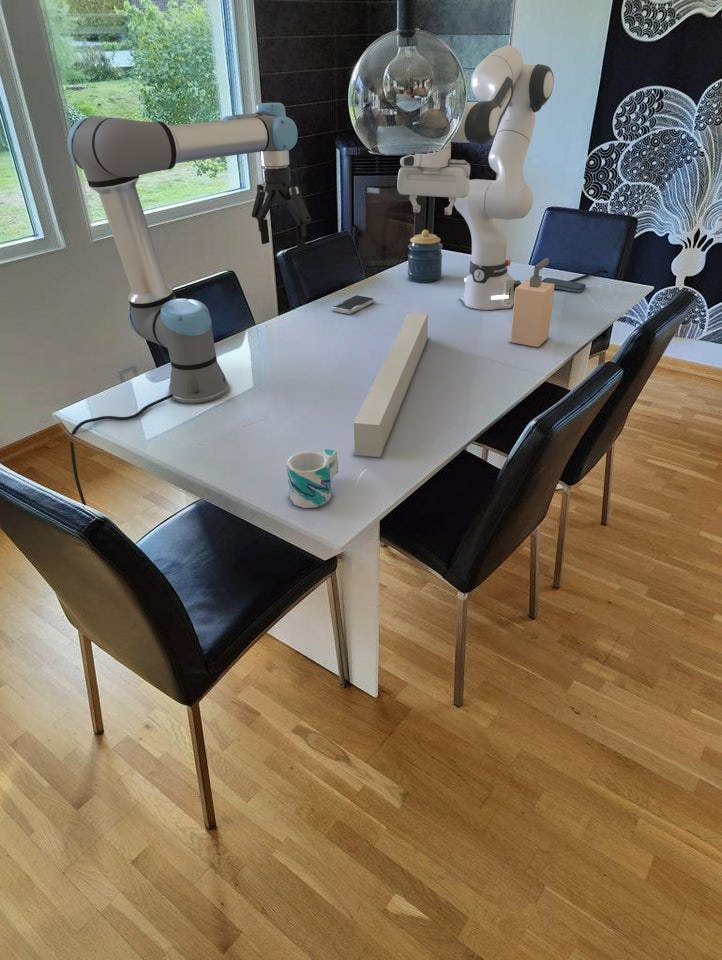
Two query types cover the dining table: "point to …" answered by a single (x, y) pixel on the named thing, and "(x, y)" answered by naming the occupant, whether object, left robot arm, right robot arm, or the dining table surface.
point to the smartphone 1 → (352, 304)
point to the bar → (390, 387)
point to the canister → (425, 257)
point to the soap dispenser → (532, 309)
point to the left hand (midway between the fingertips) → (283, 245)
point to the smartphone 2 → (565, 284)
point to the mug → (311, 477)
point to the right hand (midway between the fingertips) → (432, 213)
